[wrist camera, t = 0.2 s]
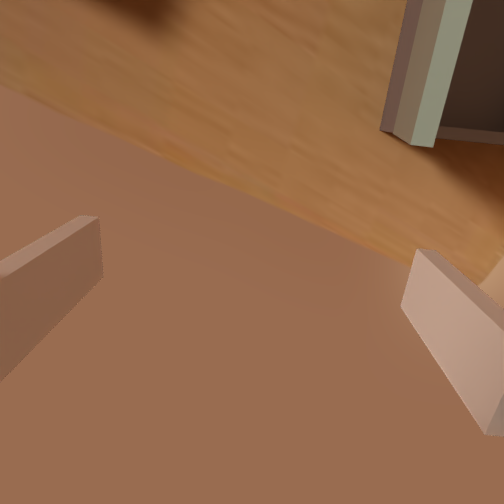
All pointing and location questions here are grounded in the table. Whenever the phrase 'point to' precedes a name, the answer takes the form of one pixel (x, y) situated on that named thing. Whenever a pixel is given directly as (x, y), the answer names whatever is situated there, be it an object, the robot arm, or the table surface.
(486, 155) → the table surface
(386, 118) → the storage box
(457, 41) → the lid
